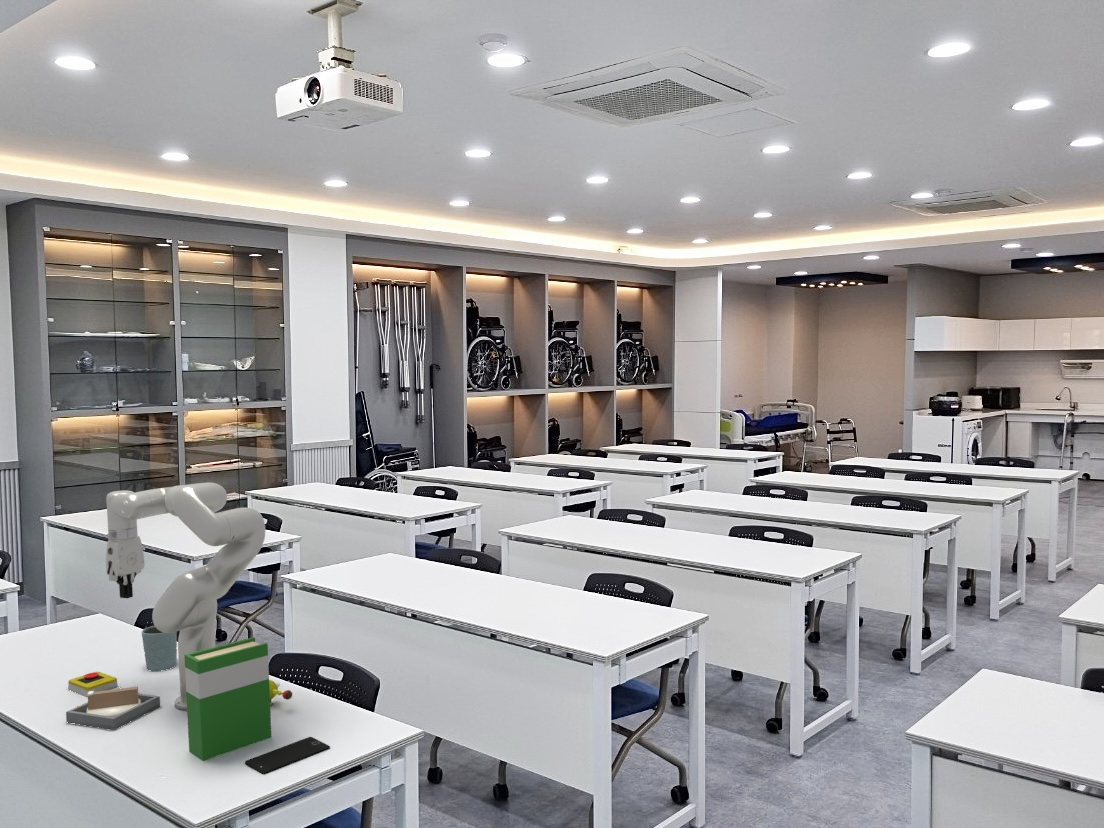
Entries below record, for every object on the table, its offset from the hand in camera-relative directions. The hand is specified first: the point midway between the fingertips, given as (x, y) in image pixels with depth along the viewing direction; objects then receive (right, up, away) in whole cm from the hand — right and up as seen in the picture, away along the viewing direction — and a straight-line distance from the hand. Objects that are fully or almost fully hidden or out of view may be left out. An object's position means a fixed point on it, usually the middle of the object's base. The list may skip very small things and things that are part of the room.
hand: (126, 597), depth 257 cm
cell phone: (+59, -30, -43) cm, 79 cm away
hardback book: (+43, -29, -37) cm, 64 cm away
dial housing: (+5, -28, -17) cm, 33 cm away
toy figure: (+45, -27, -12) cm, 54 cm away
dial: (+5, -27, -17) cm, 32 cm away
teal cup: (+1, -26, +21) cm, 33 cm away
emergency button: (-11, -28, +3) cm, 30 cm away
